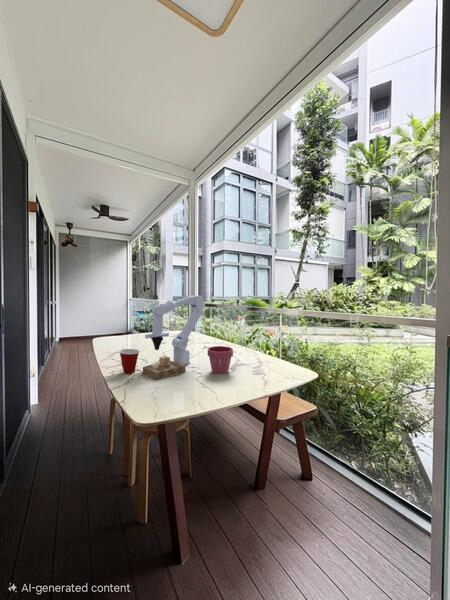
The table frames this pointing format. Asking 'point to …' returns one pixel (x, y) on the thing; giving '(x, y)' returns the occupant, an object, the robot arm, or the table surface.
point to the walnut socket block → (164, 370)
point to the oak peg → (164, 362)
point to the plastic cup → (129, 360)
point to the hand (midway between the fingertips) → (156, 349)
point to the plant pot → (220, 358)
